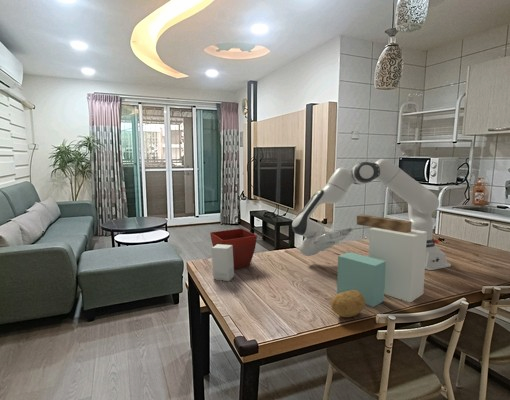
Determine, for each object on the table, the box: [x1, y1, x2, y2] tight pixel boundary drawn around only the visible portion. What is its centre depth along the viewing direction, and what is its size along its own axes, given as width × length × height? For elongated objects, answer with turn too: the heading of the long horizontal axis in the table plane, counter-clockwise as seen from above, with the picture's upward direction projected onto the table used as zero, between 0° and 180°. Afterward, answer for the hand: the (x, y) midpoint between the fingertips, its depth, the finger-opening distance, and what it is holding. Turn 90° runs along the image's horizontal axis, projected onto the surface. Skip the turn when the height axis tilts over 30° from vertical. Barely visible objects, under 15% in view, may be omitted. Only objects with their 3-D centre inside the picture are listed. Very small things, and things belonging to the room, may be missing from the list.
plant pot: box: [210, 228, 258, 270], centre depth 166 cm, size 19×19×17 cm
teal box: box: [336, 252, 386, 308], centre depth 126 cm, size 8×16×16 cm, turn 41°
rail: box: [356, 214, 412, 233], centre depth 134 cm, size 22×4×4 cm, turn 41°
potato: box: [330, 290, 366, 318], centre depth 112 cm, size 10×14×8 cm
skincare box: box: [211, 244, 235, 282], centre depth 147 cm, size 8×7×16 cm
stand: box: [368, 227, 427, 303], centre depth 131 cm, size 12×18×26 cm, turn 41°
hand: (345, 230), depth 148 cm, fingers open, 8 cm apart
